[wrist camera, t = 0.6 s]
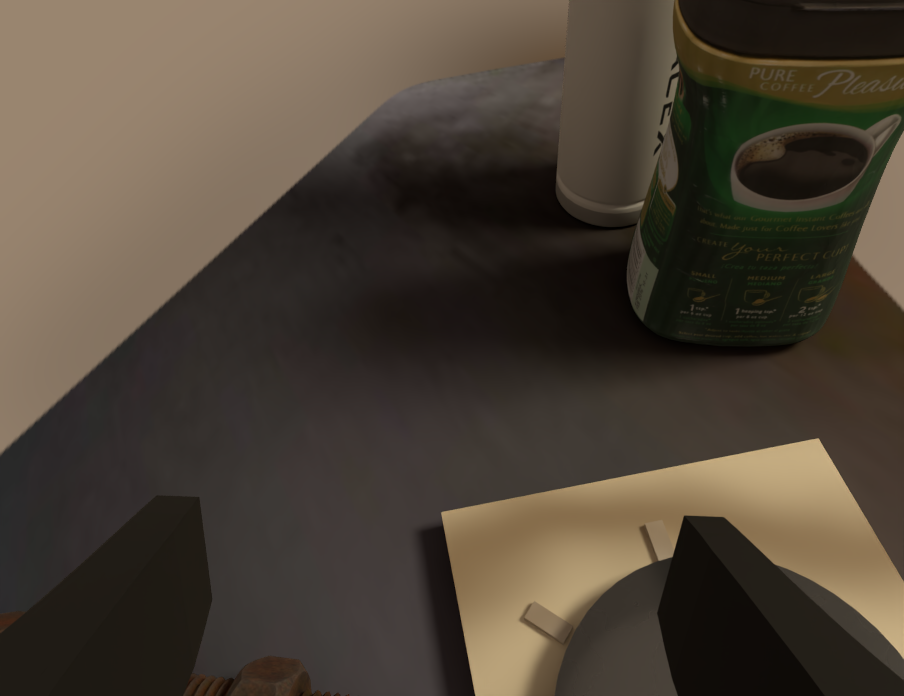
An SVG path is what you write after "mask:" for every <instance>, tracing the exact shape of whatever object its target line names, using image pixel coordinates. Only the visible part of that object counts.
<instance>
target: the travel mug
mask: <svg viewBox="0 0 904 696" xmlns="http://www.w3.org/2000/svg"><path fill="white" fill-rule="evenodd" d="M673 6H674V0H569V9H568V23H567V38H566V51H565V65H564V79H563V93H562V107H561V121H560V135H559V149H558V163H557V177H556V196H557V199H558V201H559V202H560V204H561V206H562V207H563V208H564V209H565V210H566V211H567V212H568V213H569V214H571V215H572V216H573V217H575V218H577V219H579V220H581V221H583V222H586V223H589V224H592V225H597V226H603V227H622V226H628V225H633V224H636V223H637V222H638V219H639V216H640V213H641V210H642V207H643V204H644V201H645V198H646V195H647V192H648V189H649V186H650V183H651V180H652V177H653V174H654V170H655V167H656V164H657V161H658V158H659V155H660V152H661V148H662V144H663V141H664V138H665V135H666V131H667V128H668V124H669V120H670V116H671V111H672V107H673V102H674V97H675V92H676V87H677V82H678V76H679V64H678V59H677V54H676V49H675V44H674V37H673Z"/></svg>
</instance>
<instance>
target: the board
mask: <svg viewBox="0 0 904 696" xmlns="http://www.w3.org/2000/svg"><path fill="white" fill-rule="evenodd" d="M441 514H442V520H443V526H444V531H445V537H446V542H447V547H448V553H449V558H450V563H451V569H452V574H453V580H454V585H455V590H456V596H457V601H458V606H459V612H460V617H461V622H462V628H463V633H464V638H465V644H466V649H467V655H468V660H469V665H470V671H471V676H472V681H473V687H474V692H475V696H554V694H555V688H556V682H557V678H558V673H559V670H560V667H561V664H562V661H563V658H564V654H565V651H566V649H567V647H568V645H569V643H570V640H571V638H572V636H573V634H574V632H575V630H576V628H577V627H578V625H579V624H580V622H581V621H582V619H583V618H584V616H585V614H586V613H587V611H588V610H589V609H590V608H591V607H592V606H593V604H594V603H595V602H596V601H597V600H598V599H599V598H600V597H601V595H602V594H604V593H605V592H606V591H607V590H608V589H610V588H611V587H612V586H613V585H614V584H615V583H617V582H618V581H619V580H621V579H623V578H624V577H626V576H627V575H629V574H631V573H632V572H634V571H635V570H638V569H640V568H642V567H644V566H647V565H649V564H651V563H654V562H656V561H660V560H664V559H667V558H671V557H673V553H674V550H675V546H676V543H677V539H678V535H679V532H680V528H681V524H682V521H683V517H684V515H687V516H713V517H724V518H726V519H727V520H728V521H729V522H730V523H731V524H732V525H733V526H735V527H736V528H737V529H738V530H739V531H740V532H741V533H742V534H743V535H744V536H745V537H746V538H747V539H749V540H750V541H751V542H752V543H753V544H754V545H755V546H756V547H757V548H758V549H759V550H760V551H761V552H762V553H763V554H764V555H765V556H766V557H767V558H768V559H770V560H771V561H772V562H773V563H774V564H775V565H778V566H781V567H784V568H786V569H789V570H791V571H793V572H795V573H798V574H800V575H802V576H804V577H806V578H808V579H810V580H812V581H814V582H816V583H817V584H819V585H821V586H822V587H824V588H826V589H827V590H829V591H831V592H832V593H834V594H835V595H837V596H838V597H839V598H841V599H842V600H843V601H845V602H846V603H847V604H849V605H850V606H851V607H853V608H854V609H856V610H857V611H858V612H859V613H860V614H861V615H862V616H863V617H865V618H866V619H867V620H868V621H869V622H870V623H871V624H872V625H874V626H875V627H876V628H877V629H878V630H879V631H880V632H881V633H882V635H883V636H884V637H885V638H886V639H887V640H888V641H889V642H890V643H891V644H892V645H893V646H894V647H895V649H896V650H897V651H898V652H899V653H900V655H901V656H902V657H903V659H904V582H903V580H902V578H901V577H900V575H899V573H898V572H897V570H896V568H895V567H894V565H893V563H892V562H891V560H890V558H889V556H888V555H887V553H886V551H885V550H884V548H883V546H882V545H881V543H880V541H879V540H878V538H877V536H876V535H875V533H874V531H873V530H872V528H871V526H870V525H869V523H868V521H867V519H866V518H865V516H864V514H863V513H862V511H861V509H860V508H859V506H858V504H857V503H856V501H855V499H854V498H853V496H852V494H851V493H850V491H849V489H848V487H847V486H846V484H845V482H844V481H843V479H842V477H841V476H840V474H839V472H838V471H837V469H836V467H835V466H834V464H833V462H832V461H831V459H830V457H829V456H828V454H827V452H826V450H825V449H824V447H823V445H822V444H821V442H820V440H819V439H813V440H808V441H803V442H798V443H793V444H787V445H782V446H777V447H772V448H767V449H762V450H757V451H752V452H747V453H742V454H736V455H731V456H726V457H721V458H716V459H711V460H706V461H701V462H696V463H691V464H685V465H680V466H675V467H670V468H665V469H660V470H655V471H650V472H645V473H640V474H634V475H629V476H624V477H619V478H614V479H609V480H604V481H599V482H594V483H589V484H583V485H578V486H573V487H568V488H563V489H558V490H553V491H548V492H543V493H538V494H532V495H527V496H522V497H517V498H512V499H507V500H502V501H497V502H492V503H487V504H481V505H476V506H471V507H466V508H461V509H456V510H451V511H446V512H441Z"/></svg>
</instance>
